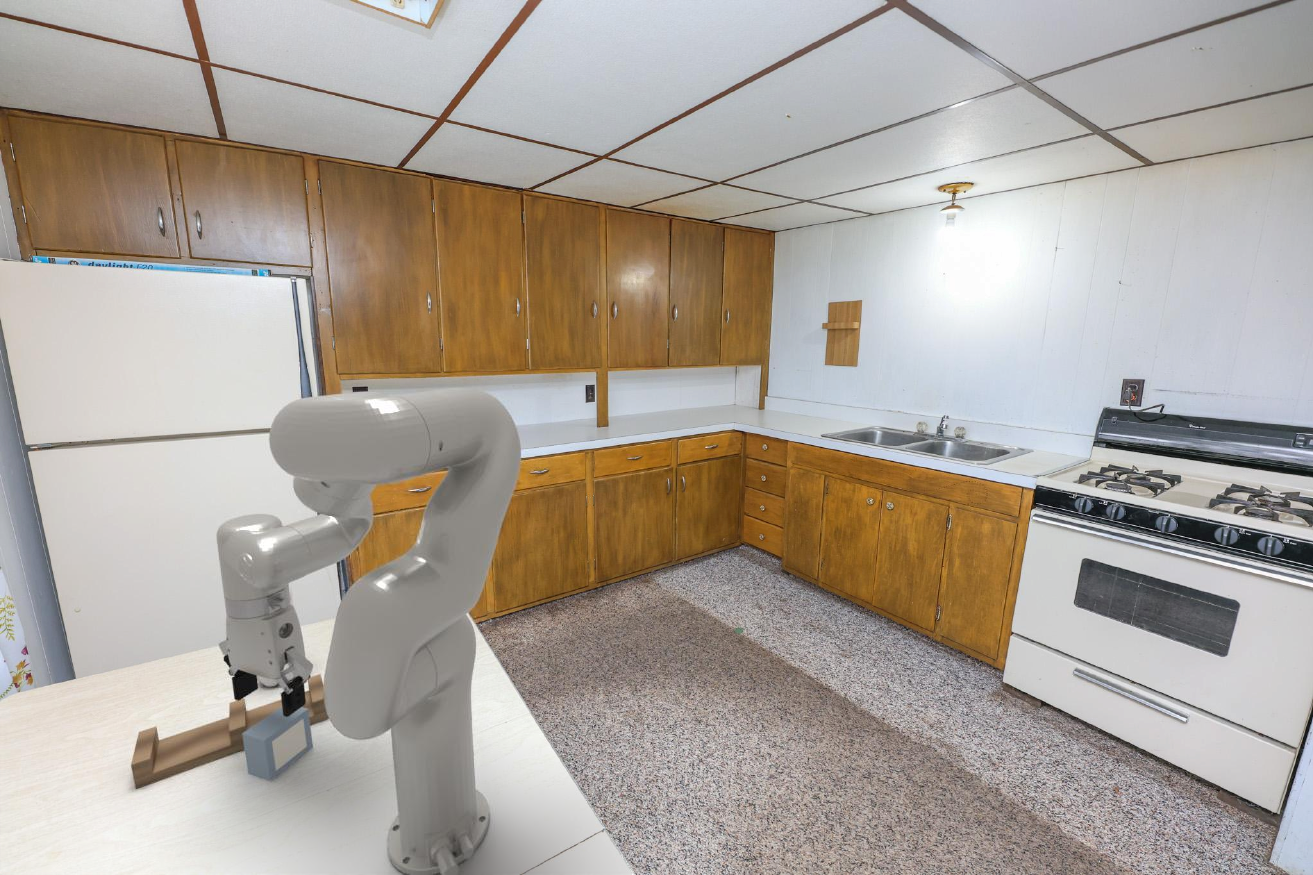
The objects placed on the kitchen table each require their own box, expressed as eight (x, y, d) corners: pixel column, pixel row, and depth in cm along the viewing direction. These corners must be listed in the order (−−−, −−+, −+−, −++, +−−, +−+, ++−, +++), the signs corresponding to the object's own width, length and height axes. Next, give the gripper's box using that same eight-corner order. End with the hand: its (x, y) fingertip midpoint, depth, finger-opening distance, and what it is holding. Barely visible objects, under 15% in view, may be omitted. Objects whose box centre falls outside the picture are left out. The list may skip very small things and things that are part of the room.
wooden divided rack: (328, 718, 91) (326, 697, 90) (135, 788, 77) (130, 765, 76) (322, 693, 97) (320, 673, 97) (143, 754, 83) (138, 731, 82)
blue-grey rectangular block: (313, 747, 85) (308, 708, 84) (270, 781, 78) (264, 740, 77) (292, 740, 86) (287, 702, 85) (248, 773, 80) (242, 733, 78)
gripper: (327, 598, 78) (336, 700, 82) (241, 577, 83) (253, 674, 87) (278, 624, 71) (290, 734, 75) (187, 600, 76) (202, 704, 80)
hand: (270, 702), depth 81 cm, fingers open, 9 cm apart
